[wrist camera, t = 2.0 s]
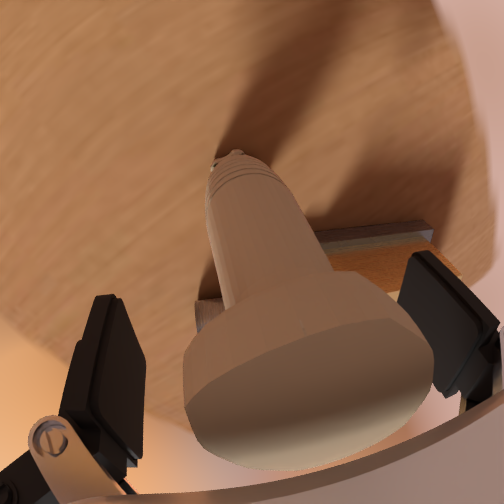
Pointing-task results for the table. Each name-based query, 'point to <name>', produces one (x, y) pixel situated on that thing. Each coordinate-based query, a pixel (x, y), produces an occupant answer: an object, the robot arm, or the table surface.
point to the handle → (293, 338)
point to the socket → (361, 257)
